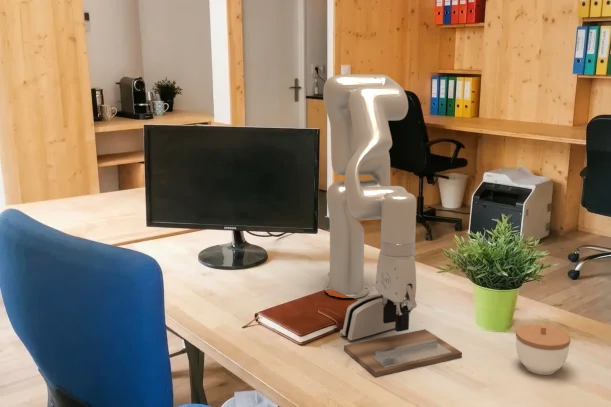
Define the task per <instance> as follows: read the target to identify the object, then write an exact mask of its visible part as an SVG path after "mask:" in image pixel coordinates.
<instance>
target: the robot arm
mask: <svg viewBox="0 0 611 407" xmlns="http://www.w3.org/2000/svg"><path fill="white" fill-rule="evenodd" d="M324 82H325V83H324V85H323V92H322V94H323V95H322V97H323V104H324V107H325V111H326V114H327V117H328V121H329V125H330V126H329V127H330V155H331V156H330V160H331V167H332V168H331V169H332V170H333V173H335V174H336V175H338V176H344V180H340V181H336V182H333V183H332V184H330V185H329V186H328V187H327V190H326V203H327V209H328V218H329V220H328V221H329V271H328V274H327V276H328V277H329V283H327V284H325V285H324V289H323V291H324V290H327V289H332V290H335V291H337V292H340V293H342V294H344V295H346V296H349V297H352V298H354V299H359V298H360V299H361V298H364V297H366V296H367V295H369V292H370V288H369V286H368V285H367V284H365V282H364V278H365V277H364V275H365V273H364V272H365V271H364V269H365V268H364V267H365V230H364V228H363V226H362V224H361V223H360V221H371V220H380V251H379V255H378V259H377V265H376V276H375V280H376V281H375V290H376V291H377V294H381V296H382V299H383V300H382V304H383V306H384V307H383V322H384V323H385V324H386V323H391V322H395V328H394V329H395V332H398V333H399V332H405V331H408V330H409V328H410V314H411V313H412V310H414V309H415V308H417V301H416V296H417V269H416V259H415V255H416V229H417V228H416V225H417V223H416V222H417V198H416V196H415V195H414V194H413V193H411V192H408V191H407V189H406V188H405V187H404V186H400V185H391V157H390V152H389V151H390V149H391V148H392V146H393V140H392V139H393V138H392V134H391V131H390V130H391V129H390V126H389V121H401V120H404V119H405V117H406V116H407V114H408V112H409V111H408V110H409V101H408V100H409V99H408V95H407V94H406V92H405V90H404V88H403V87H402V86H401V85H400V84H399V83H398V82H396V81H395V80H394V79H392V78H391V77H390V76H388V75H386V74H373V73H372V74H361V73H360V74H359V73H357V74H353V73H352V74H351V73H350V74H337V75H334V76H331V77H329V78H328V79H327V80H326V81H324ZM360 176H370V179H360ZM395 303H397V305H396V304H395ZM402 303H405V306H403V307H402ZM394 304H395V305H394ZM396 310H397V313H398V314H396Z"/></svg>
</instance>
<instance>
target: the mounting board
mask: <svg viewBox="0 0 611 407" xmlns="http://www.w3.org/2000/svg"><path fill="white" fill-rule="evenodd" d="M431 339H436V340H438V344H440V345H441V346H443V347H445V348H446V349H448V350H449V351H451V354H447V355H443V356H439V357H434V358H430V359H425V360H421V361H416V362H412V363H407V364H403V365H398V366H394V367H390V368H383V367H382V366H381V365H380V364H378V363H377V362H376V361H375V360H373V359H372V358H371V356H374V351H379V350H384V349H389V348H393V347H398V346H403V345H408V344H412V343H417V342H422V341H427V340H431ZM343 351H344V352H345V353H347V355H349V356H350V357H351V358H352V359H354V360H355V361H356V362H357V363H358V364H359V365H360V366H361V367H363V369H365V370H366V371H367V372H368V373H370V374H371V376H373V377H374V378H378V377H383V376H387V375H392V374H395V373H401V372H404V371H409V370H413V369H418V368H421V367H426V366H430V365H436V364H439V363H445V362H449V361H452V360H457V359H462V356H463V352H462V351H460V350H459V349H457V348H456V347H454V346H452V345H451V344H449V343H448V342H446V341H444V340H443V339H441V338H439V336H436V335H435V334H433V333H432V332H430V331H429V330H427V329H425V328H424V329H419V330H415V331H409V332H405V333H400V334H394V335H389V336H385V337H380V338H376V339H375V338H374V339H370V340H365V341H360V342H354V343H349V344H346V345H343Z"/></svg>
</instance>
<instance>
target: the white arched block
mask: <svg viewBox="0 0 611 407" xmlns="http://www.w3.org/2000/svg"><path fill="white" fill-rule="evenodd" d="M382 300H383V299H382V296H381V294H380V293H377V294H372V295H368V296H364V297H362V298H360V299H359V300H357V301H354V302H353V303H351V304H350V305H348V306H347V309H346V313H345V317H344V321H343V322H344V323H343V326H342V327H343V328H341V329H340V331H339V337H346V336H347V339H348V340H350V341H354V340H359V339H361V338H364V337H369V336H372V335H375V334H379V333H383V332H385V331H390V330H392V329H393V330H394V329H395V322H391V323H386V324H385V323H384V322H383V307H384V306H383V304H382ZM395 304H396V305H397V303H395ZM395 304H394V305H395ZM403 306H405V303H402V307H403ZM396 314H398V313H397V310H396Z"/></svg>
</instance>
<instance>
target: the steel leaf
mask: <svg viewBox="0 0 611 407" xmlns="http://www.w3.org/2000/svg"><path fill="white" fill-rule="evenodd" d="M447 354H451V351H449V350H448V349H446V348H445V347H443V346H441V345H440V344H438V340H436V339H431V340H427V341H422V342H417V343H412V344H408V345H403V346H398V347H393V348H389V349H384V350H379V351H374V356H371V358H372V359H373V360H375V361H376V362H377V363H378V364H380V365H381V366H382V367H383V368H390V367H394V366H398V365H403V364H407V363H412V362H416V361H421V360H425V359H430V358H434V357H439V356H443V355H447Z"/></svg>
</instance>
